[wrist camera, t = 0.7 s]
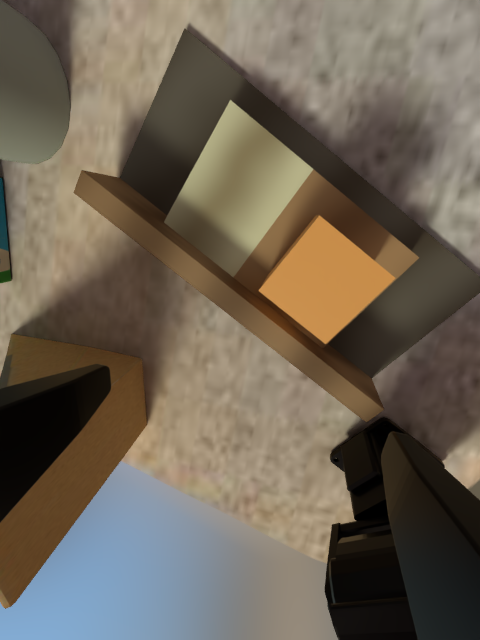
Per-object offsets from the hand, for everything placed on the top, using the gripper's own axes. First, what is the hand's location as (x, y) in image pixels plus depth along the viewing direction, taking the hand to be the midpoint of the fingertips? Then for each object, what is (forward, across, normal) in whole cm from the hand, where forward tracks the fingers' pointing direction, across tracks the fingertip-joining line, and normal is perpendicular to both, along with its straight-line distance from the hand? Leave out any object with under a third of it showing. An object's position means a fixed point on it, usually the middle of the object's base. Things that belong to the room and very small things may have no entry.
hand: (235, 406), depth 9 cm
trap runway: (+13, 0, -4) cm, 14 cm away
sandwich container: (+14, +19, +12) cm, 27 cm away
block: (+11, -2, -3) cm, 12 cm away
